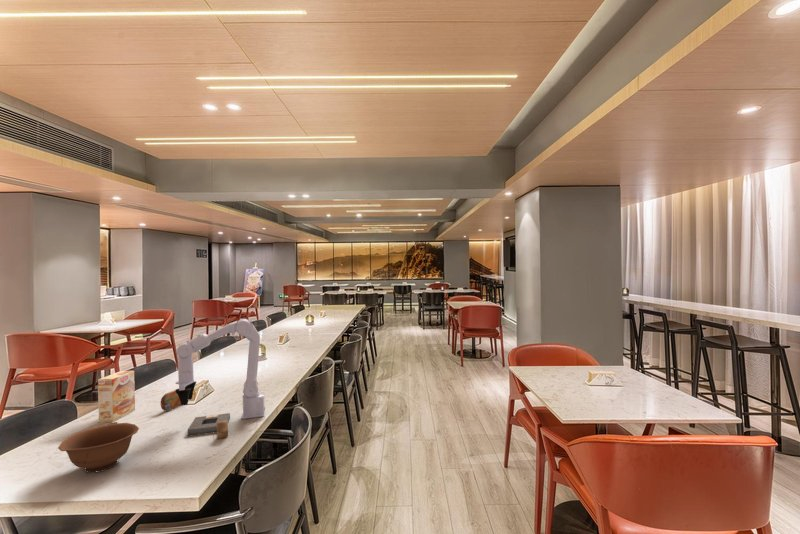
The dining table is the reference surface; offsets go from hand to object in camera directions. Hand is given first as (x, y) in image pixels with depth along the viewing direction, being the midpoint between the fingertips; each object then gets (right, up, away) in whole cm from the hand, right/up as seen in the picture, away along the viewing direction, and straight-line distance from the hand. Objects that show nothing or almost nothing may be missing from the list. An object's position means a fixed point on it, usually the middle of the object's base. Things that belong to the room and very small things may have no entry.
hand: (186, 402), depth 168 cm
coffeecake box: (-40, -12, +14) cm, 44 cm away
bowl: (-11, -10, -34) cm, 37 cm away
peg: (+22, -9, -13) cm, 27 cm away
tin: (-19, -11, +23) cm, 31 cm away
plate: (+11, -10, -3) cm, 15 cm away
